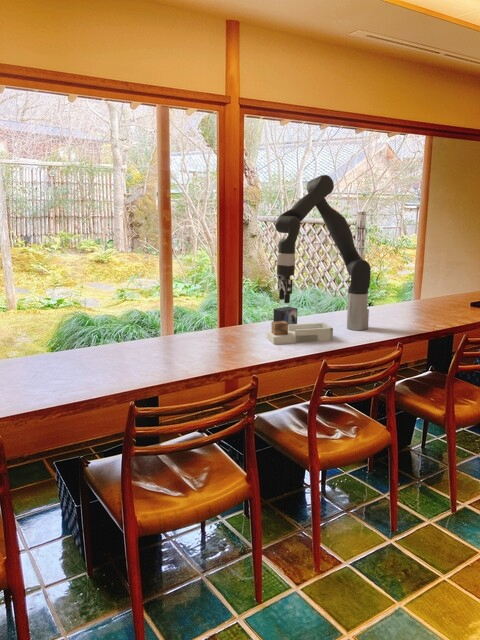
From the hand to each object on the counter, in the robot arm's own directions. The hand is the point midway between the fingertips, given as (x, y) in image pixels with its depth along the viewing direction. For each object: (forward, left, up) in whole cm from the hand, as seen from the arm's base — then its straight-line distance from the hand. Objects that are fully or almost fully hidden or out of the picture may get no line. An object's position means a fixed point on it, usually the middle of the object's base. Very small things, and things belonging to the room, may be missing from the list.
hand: (284, 301), depth 231 cm
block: (+1, -2, -15) cm, 15 cm away
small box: (-7, -20, -18) cm, 28 cm away
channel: (-8, -1, -18) cm, 19 cm away
